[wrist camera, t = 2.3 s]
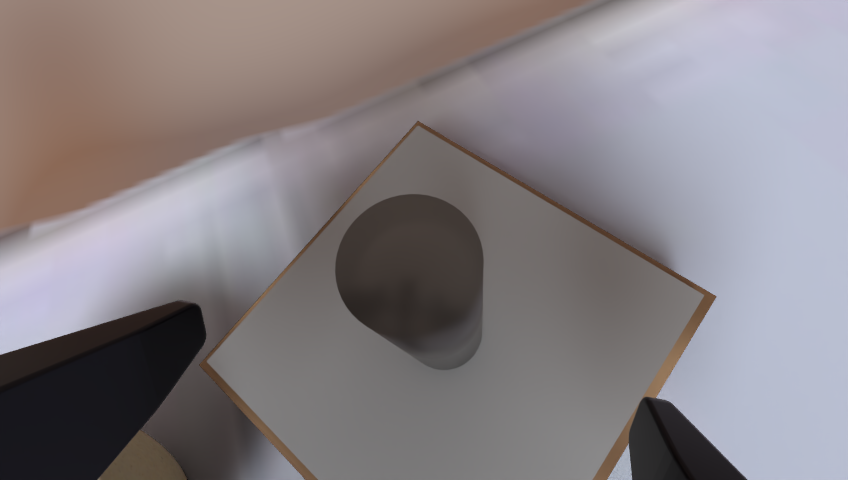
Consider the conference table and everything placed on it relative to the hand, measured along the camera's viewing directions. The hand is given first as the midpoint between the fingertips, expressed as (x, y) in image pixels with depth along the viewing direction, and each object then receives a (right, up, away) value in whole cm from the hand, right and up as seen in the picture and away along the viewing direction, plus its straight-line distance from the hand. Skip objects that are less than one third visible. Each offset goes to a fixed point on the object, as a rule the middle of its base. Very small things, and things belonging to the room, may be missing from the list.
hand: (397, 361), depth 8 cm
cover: (+1, -1, +7) cm, 8 cm away
